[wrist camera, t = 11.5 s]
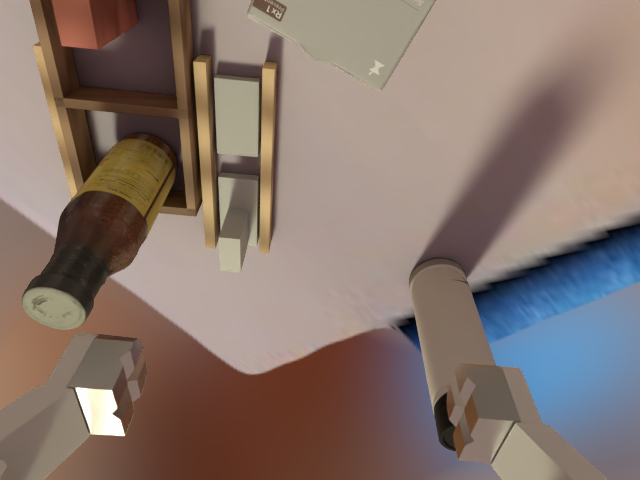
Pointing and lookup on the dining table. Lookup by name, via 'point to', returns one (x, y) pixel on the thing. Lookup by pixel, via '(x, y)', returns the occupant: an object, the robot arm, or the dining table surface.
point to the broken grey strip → (235, 189)
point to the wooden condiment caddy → (71, 99)
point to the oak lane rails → (204, 144)
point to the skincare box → (347, 31)
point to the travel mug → (446, 332)
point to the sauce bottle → (102, 229)
